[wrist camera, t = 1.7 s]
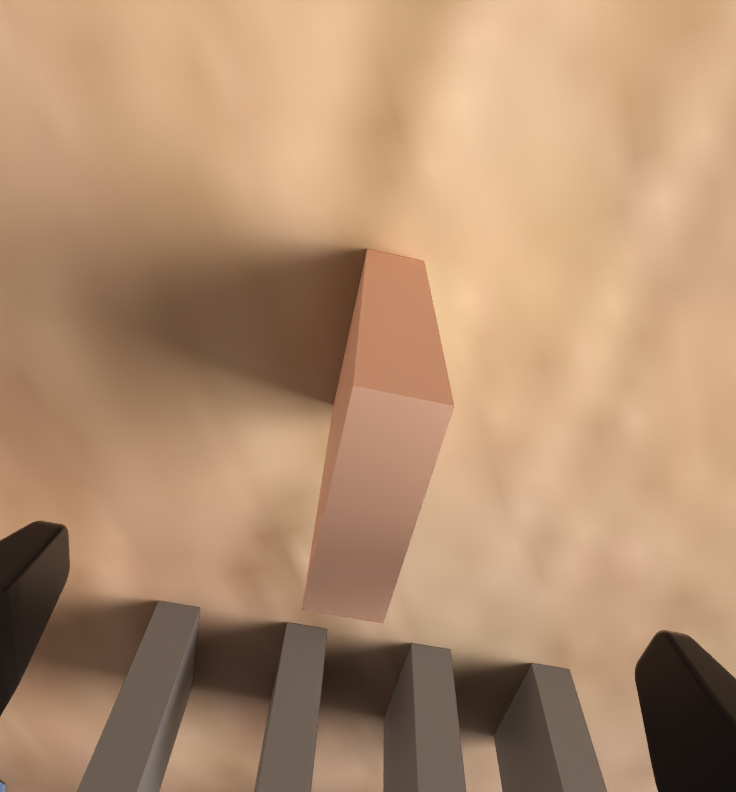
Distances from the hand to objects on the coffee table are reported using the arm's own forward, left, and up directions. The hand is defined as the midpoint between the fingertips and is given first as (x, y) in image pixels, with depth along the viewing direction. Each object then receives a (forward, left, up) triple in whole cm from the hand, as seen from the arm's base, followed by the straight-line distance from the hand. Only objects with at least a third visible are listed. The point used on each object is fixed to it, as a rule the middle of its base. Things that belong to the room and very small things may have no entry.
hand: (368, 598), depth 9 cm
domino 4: (-15, -5, -10) cm, 18 cm away
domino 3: (0, 0, -10) cm, 10 cm away
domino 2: (-15, 0, -10) cm, 18 cm away
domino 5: (-15, -10, -10) cm, 20 cm away
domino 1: (-15, +5, -10) cm, 18 cm away
